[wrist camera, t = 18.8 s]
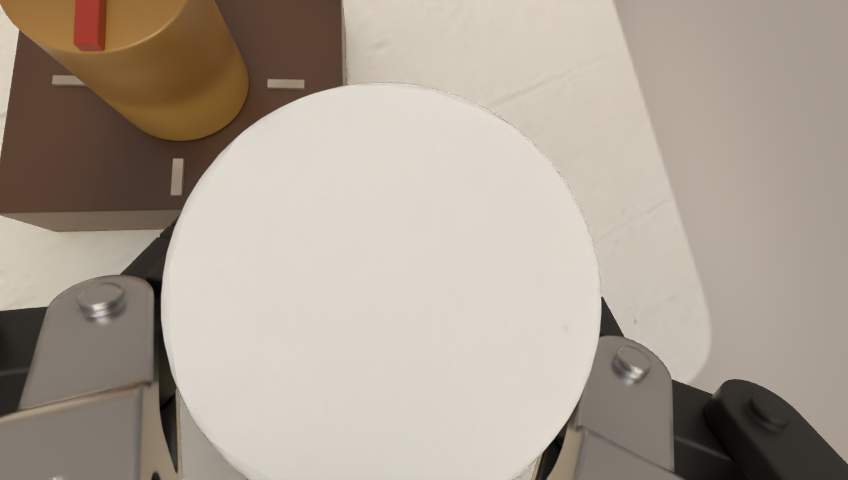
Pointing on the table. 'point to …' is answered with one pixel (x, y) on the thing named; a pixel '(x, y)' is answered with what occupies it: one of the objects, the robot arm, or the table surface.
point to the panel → (136, 150)
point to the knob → (145, 58)
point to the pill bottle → (381, 292)
